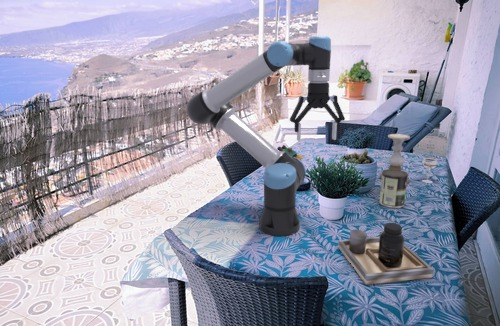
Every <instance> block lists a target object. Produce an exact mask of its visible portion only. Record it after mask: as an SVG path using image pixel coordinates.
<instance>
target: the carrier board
mask: <svg viewBox="0 0 500 326" xmlns="http://www.w3.org/2000/svg"><path fill="white" fill-rule="evenodd" d="M379 239H380V236H370V237H367V232H366V231H365V230H362V229H353V230H350V233H349V239H338V244H337V245H338V246H337V247H338V250H340V253H342V255H343V256H344V257H345V259H346V260H347V261H348V263H349V264H350V263H351V264H350V265H351V266H352V268H353V267H354V268H353V269H354V271H355V272H356V273H357V274H358V276H359V278H360V279H361V280H362V282H364V284H365V285H375V284H377V285H378V284H386V283H393V282H394V283H395V282H404V281H413V280H422V279H423V280H424V279H431V278H433V277H434V269H435V268H433V267H432V266H431V265H429V263H427V262H426V261H425V260H424V259H423V258H421V257H420V256H419V254H417V253H416V252H414V251H413V249H411V248H410V247H409V246H408V245H407V244H405V243H404V250H403V259H402V264H401V265H400V266H399V267H396V268H391V267H386V266H384V265H383V264H382V263H381V262H380V260H379V259H378V250H379Z"/></svg>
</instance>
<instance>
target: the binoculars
mask: <svg viewBox="0 0 500 326" xmlns="http://www.w3.org/2000/svg"><path fill="white" fill-rule="evenodd" d="M276 149H277V150H278V151H279V152H283V151H285V152H286V153H287V154H288V155H289V156H291V157H296V158H298V159H300V160H301V161H302V159H303V158H304V157H303V156H301V155H300V154H297V153H298V152H296V151H295V150H294V149H292V147H287V146H286V145H285V144H282V147H281V146H278V147H277V148H276Z"/></svg>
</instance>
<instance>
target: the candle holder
mask: <svg viewBox="0 0 500 326" xmlns="http://www.w3.org/2000/svg"><path fill="white" fill-rule="evenodd" d="M387 137H388V139H391V140H392V141H393V142H394V145H393V146H392V147H391V149H392V151H393V152H392V155H391V156H390V157H389V158H388V161H387V162H388V164H389V166H388V170H389V169H393V170H401V171H403V168H402V166H403V165H404V163H405V160H404V158H403V156H402V151H403V150H404V147H403V143H404V142H405V141H406V140H410V139H411V135H409V134H402V133H390V134H388V135H387ZM379 179H380V180H382V173H381V174H379ZM409 184H410V180H409V179H408V178H407V185H409Z"/></svg>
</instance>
